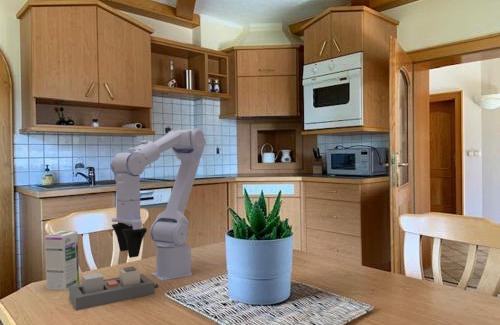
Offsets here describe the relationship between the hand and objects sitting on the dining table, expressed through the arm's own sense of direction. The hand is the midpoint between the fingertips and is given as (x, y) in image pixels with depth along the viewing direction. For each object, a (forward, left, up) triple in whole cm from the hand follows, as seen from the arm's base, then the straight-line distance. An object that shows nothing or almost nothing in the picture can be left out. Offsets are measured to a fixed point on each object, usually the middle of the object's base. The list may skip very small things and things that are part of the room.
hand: (129, 253), depth 98 cm
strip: (+3, +1, -10) cm, 10 cm away
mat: (+1, -9, -10) cm, 14 cm away
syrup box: (+13, -14, -10) cm, 22 cm away
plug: (0, +1, -10) cm, 10 cm away
